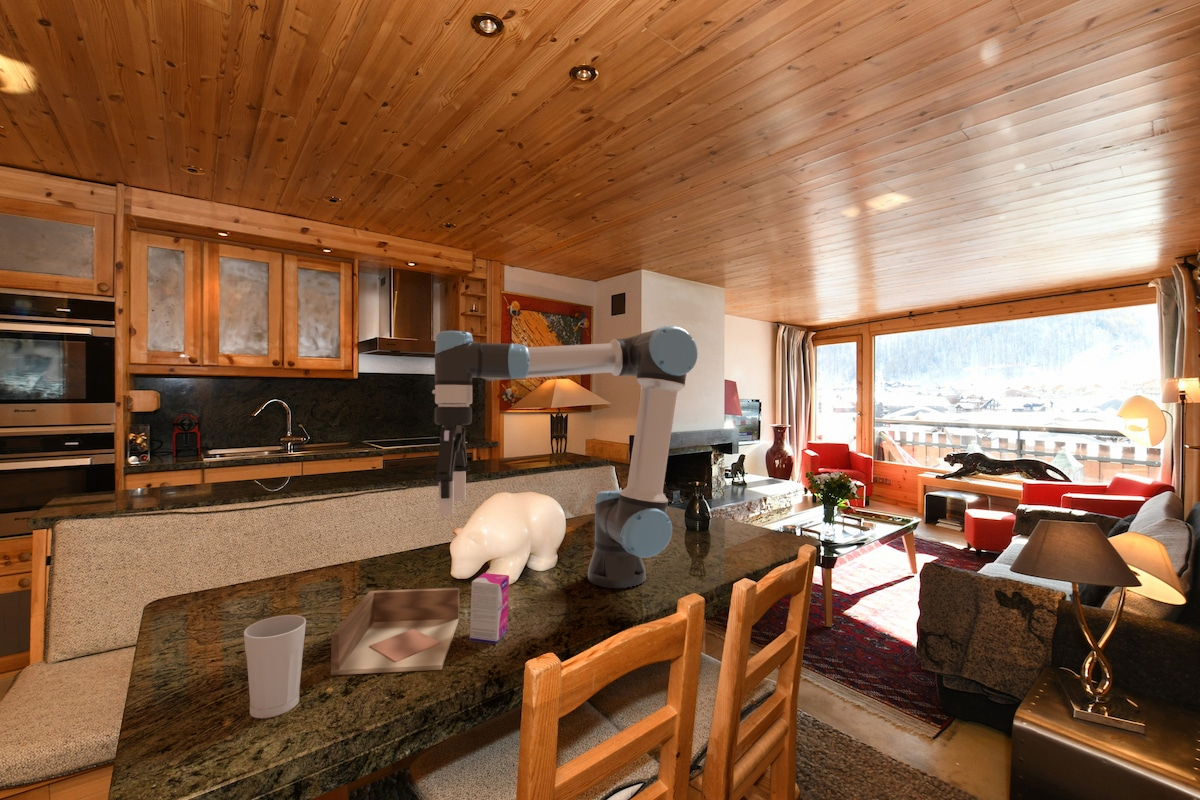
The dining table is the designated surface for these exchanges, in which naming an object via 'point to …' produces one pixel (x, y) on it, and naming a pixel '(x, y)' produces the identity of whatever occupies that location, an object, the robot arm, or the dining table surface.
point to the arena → (396, 632)
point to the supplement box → (489, 608)
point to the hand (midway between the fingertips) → (453, 507)
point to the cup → (274, 664)
